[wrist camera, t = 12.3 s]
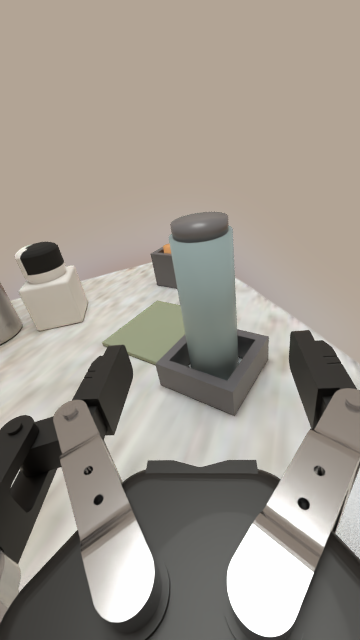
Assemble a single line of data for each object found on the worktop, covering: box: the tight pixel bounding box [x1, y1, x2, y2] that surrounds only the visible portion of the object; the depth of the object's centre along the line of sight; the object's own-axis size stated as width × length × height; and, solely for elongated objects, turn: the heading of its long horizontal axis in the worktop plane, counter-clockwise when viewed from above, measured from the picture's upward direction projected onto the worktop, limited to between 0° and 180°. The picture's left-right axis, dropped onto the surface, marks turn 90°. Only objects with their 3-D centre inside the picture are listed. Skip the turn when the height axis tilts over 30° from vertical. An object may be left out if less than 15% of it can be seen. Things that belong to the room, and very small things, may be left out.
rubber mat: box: [102, 301, 185, 365], centre depth 38 cm, size 12×12×1 cm
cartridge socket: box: [155, 329, 269, 416], centre depth 29 cm, size 8×8×3 cm
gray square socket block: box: [151, 247, 177, 288], centre depth 50 cm, size 5×5×6 cm
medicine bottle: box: [15, 242, 88, 331], centre depth 43 cm, size 7×7×12 cm
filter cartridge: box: [169, 212, 239, 381], centre depth 26 cm, size 5×5×16 cm
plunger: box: [163, 244, 171, 254], centre depth 49 cm, size 2×2×6 cm
